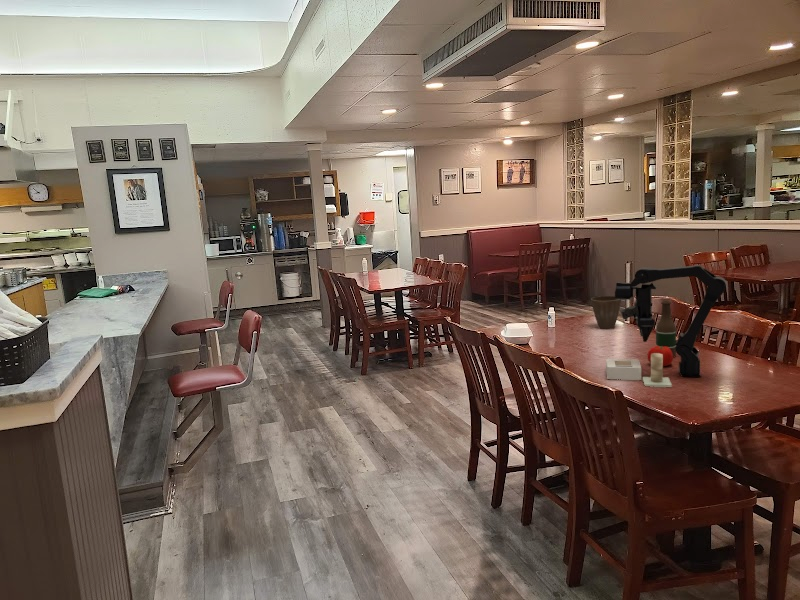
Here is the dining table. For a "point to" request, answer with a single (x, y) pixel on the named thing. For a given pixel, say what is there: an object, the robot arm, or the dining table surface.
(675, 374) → the dining table surface
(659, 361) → the tan cylinder
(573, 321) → the dining table surface
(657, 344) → the beer bottle
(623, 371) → the box
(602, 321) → the plant pot
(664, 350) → the tomato
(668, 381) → the rest pad
